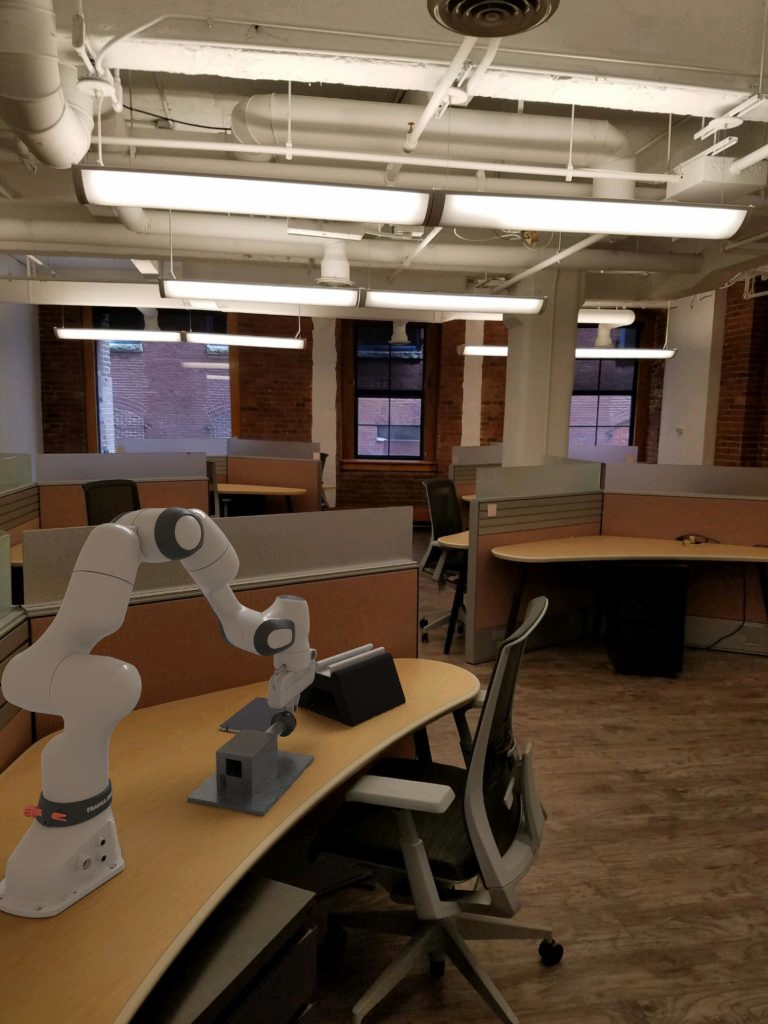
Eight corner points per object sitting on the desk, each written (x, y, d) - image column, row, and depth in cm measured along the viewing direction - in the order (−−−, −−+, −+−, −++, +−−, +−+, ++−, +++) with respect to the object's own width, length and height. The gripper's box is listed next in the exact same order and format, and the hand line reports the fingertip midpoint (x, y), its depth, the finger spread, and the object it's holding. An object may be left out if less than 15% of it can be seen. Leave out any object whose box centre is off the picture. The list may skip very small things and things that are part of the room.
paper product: (262, 738, 182) (296, 707, 202) (262, 733, 182) (296, 702, 202) (218, 732, 186) (256, 701, 206) (218, 726, 185) (256, 696, 206)
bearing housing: (263, 816, 145) (263, 769, 144) (187, 801, 150) (186, 756, 149) (314, 759, 169) (314, 719, 168) (247, 748, 175) (246, 709, 174)
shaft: (257, 772, 155) (257, 746, 154) (233, 768, 157) (233, 742, 156) (296, 735, 174) (296, 711, 173) (274, 731, 175) (274, 708, 175)
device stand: (295, 706, 202) (294, 655, 201) (349, 684, 220) (349, 637, 218) (352, 728, 188) (352, 673, 186) (405, 703, 205) (406, 653, 203)
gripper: (285, 674, 165) (285, 730, 167) (319, 648, 185) (319, 699, 186) (260, 670, 167) (261, 726, 169) (297, 645, 187) (297, 696, 188)
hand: (292, 712), depth 178 cm, fingers closed
